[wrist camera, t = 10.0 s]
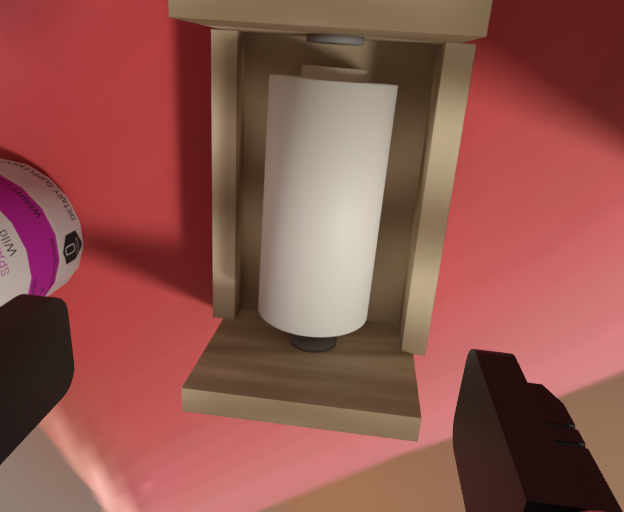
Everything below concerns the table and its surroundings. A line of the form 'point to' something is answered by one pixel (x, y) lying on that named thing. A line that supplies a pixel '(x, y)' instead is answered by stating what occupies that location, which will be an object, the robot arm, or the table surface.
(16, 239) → the supplement can
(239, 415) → the roll holder
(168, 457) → the table surface
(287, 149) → the paper roll
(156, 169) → the table surface
